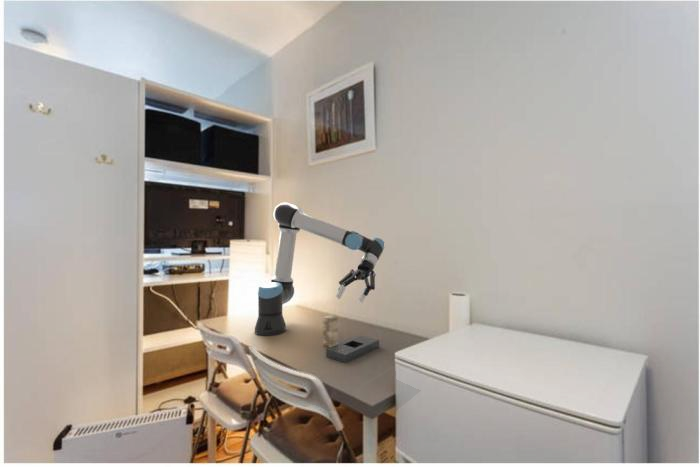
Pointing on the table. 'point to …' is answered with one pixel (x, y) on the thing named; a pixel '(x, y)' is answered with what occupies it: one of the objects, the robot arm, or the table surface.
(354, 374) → the table surface
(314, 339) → the table surface
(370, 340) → the grey block with hole
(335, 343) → the peg
